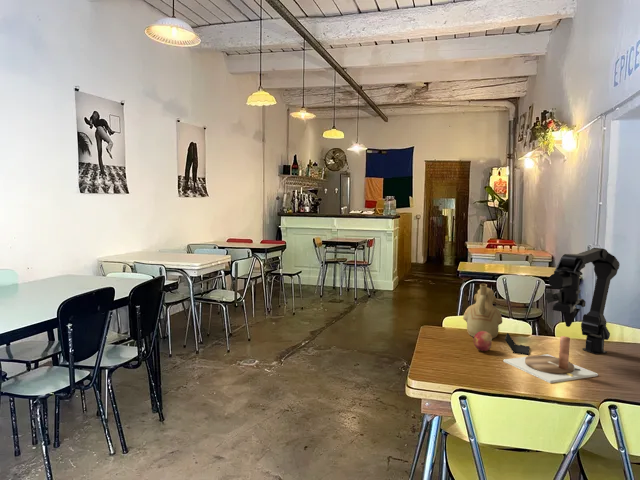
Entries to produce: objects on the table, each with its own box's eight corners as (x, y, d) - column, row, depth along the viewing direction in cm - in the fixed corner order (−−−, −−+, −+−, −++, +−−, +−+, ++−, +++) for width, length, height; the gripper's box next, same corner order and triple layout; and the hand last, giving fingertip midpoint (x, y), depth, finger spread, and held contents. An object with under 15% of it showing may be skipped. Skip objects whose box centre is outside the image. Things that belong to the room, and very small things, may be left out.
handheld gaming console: (534, 352, 182) (518, 330, 184) (518, 361, 183) (503, 340, 186) (530, 347, 193) (515, 327, 195) (515, 356, 194) (501, 336, 197)
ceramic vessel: (502, 332, 215) (505, 280, 213) (500, 343, 198) (502, 286, 196) (465, 327, 222) (467, 276, 220) (459, 338, 205) (461, 282, 203)
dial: (515, 360, 172) (517, 329, 171) (546, 356, 178) (548, 325, 177) (551, 375, 158) (553, 341, 157) (584, 370, 164) (586, 337, 163)
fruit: (486, 355, 182) (487, 335, 181) (469, 350, 187) (469, 331, 187) (496, 351, 187) (497, 332, 186) (478, 346, 193) (479, 328, 192)
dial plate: (547, 356, 182) (547, 352, 182) (597, 375, 161) (598, 372, 161) (503, 361, 175) (503, 358, 174) (549, 383, 154) (550, 379, 154)
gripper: (557, 281, 189) (554, 318, 190) (539, 286, 176) (537, 326, 177) (587, 285, 181) (584, 324, 182) (571, 290, 168) (568, 332, 169)
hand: (568, 326), depth 178 cm, fingers closed
